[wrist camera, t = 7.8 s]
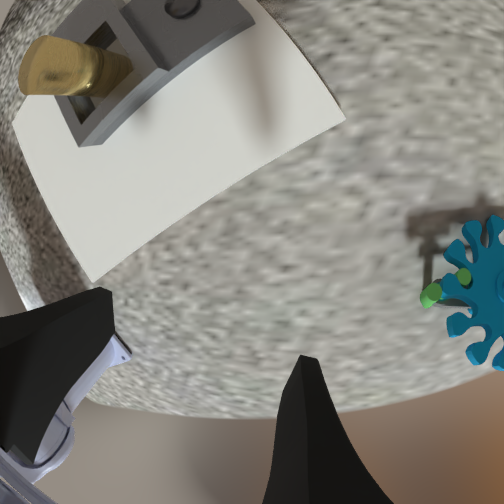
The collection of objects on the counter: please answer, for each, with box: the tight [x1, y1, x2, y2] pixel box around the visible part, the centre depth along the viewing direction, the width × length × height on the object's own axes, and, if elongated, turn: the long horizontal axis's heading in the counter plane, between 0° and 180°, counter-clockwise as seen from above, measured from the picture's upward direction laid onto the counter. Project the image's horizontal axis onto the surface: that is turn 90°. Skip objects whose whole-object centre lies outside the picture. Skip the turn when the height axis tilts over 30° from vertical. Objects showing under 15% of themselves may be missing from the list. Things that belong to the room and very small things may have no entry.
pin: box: [18, 35, 133, 98], centre depth 11 cm, size 3×3×7 cm
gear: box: [420, 215, 504, 371], centre depth 14 cm, size 11×6×10 cm
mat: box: [12, 0, 346, 283], centre depth 15 cm, size 22×18×1 cm
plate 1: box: [52, 0, 168, 148], centre depth 13 cm, size 7×10×2 cm
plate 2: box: [79, 0, 256, 146], centre depth 13 cm, size 12×7×2 cm, turn 122°
